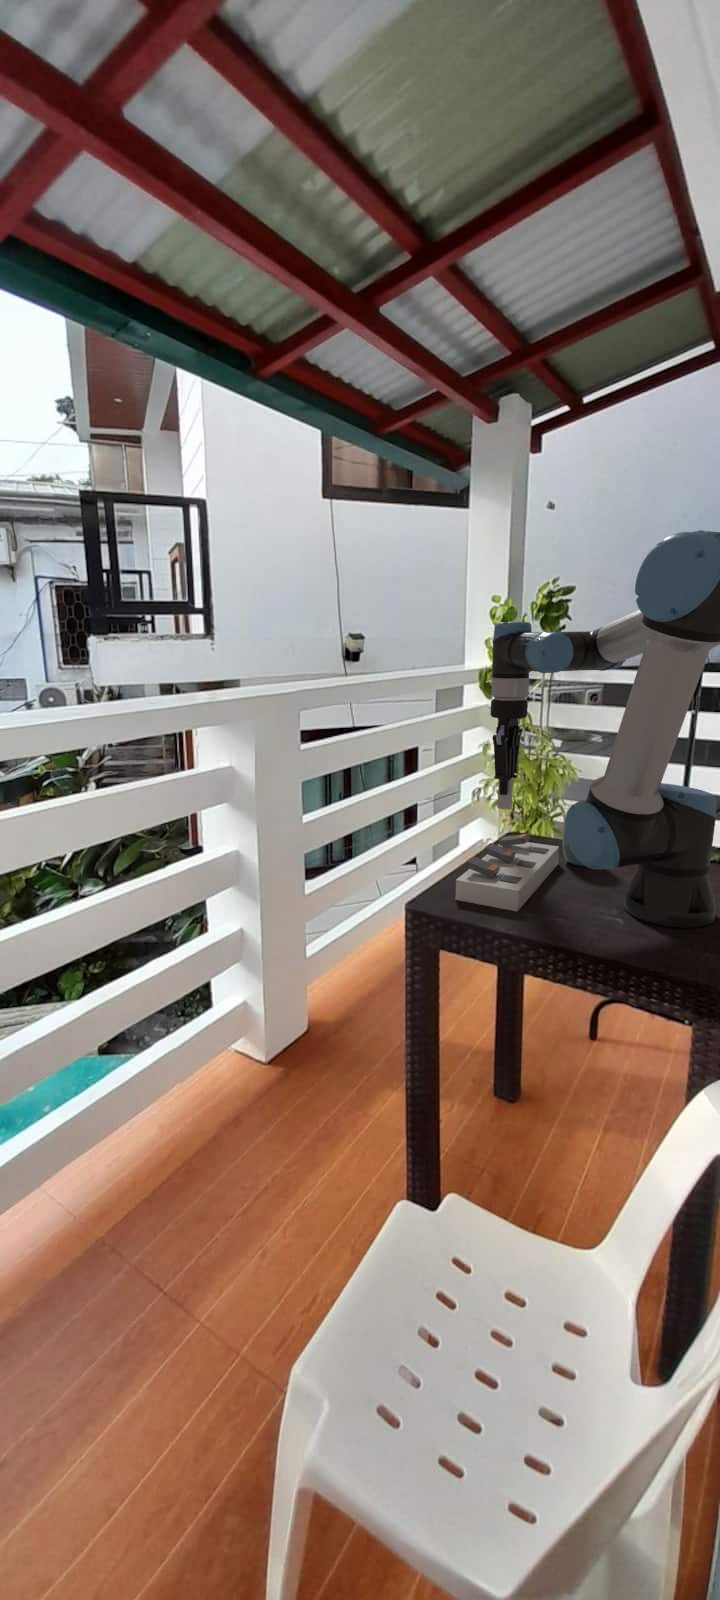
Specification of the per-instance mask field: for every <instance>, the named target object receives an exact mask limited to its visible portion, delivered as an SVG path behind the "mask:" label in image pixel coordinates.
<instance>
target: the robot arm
mask: <svg viewBox="0 0 720 1600" xmlns="http://www.w3.org/2000/svg"><path fill="white" fill-rule="evenodd" d="M637 572H638V573H637V576H636V580H635V585H634V594H635V595H636V596H637V598H636V600H635V602H636V605H637V607H638V610H635V611H632V613H629V614H627V615H625V616H622V617H620V618H618V619H616V620H614V621H612V622H610V623H607V624H605V625H603V626H600V627H598V628H596V629H593V630H589V631H588V630H587V631H547V630H546V631H532V629H533V628H532V624H531V623H530V622H529V621H501V622H497V623H496V624H495V625H494V627H493V629H494V630H493V640H492V642H491V643H492V660H491V661H492V662H491V663H492V664H491V669H492V670H491V675H492V676H491V681H490V682H489V686H491V696H492V697H493V698H492V699H491V700H490V717H491V718H495V719H498V722H497V723H498V724H497V726H496V729H495V733H496V734H493V735H492V743H493V744H492V745H493V752H494V753H493V757H494V778H493V779H494V780H495V779H496V780H498V783H497V785H498V786H497V787H498V789H497V809H499V810H506V811H507V810H509V811H510V810H511V809H512V808H513V789H514V787H513V786H514V779H518V774H517V772H518V763H519V755H520V746H521V738H522V734H523V728H521V727H520V726H519V725H520V724H519V719H526V717H527V716H528V706H529V705H528V704H529V701H528V700H527V699H526V698H528V697H529V688H530V687H529V686H530V672H536V673H540V674H556V673H560V672H574V671H575V672H576V671H601V672H603V671H610V670H616V669H619V668H620V667H622V666H623V665H624V663H625V662H626V661H627V660H628V659H631V658H634V657H636V656H639V655H641V654H642V656H641V659H640V661H639V665H638V668H637V671H636V674H635V677H634V680H633V683H632V686H631V690H630V693H629V696H628V700H627V703H626V705H625V708H624V712H623V715H622V717H621V721H620V725H619V728H618V731H617V735H616V737H615V739H614V740H615V741H614V743H613V747H612V750H611V752H610V756H609V759H608V762H607V765H606V768H605V772H604V774H603V775H602V776H600V777H598V778H596V779H594V780H593V781H592V782H591V784H590V787H589V791H588V793H587V797H586V800H578V801H577V802H575V803H574V804H571V805H570V806H569V808H568V809H567V811H566V814H565V817H566V818H565V817H564V819H565V832H566V837H567V840H568V843H569V846H570V848H571V850H572V852H573V854H574V855H575V857H576V858H577V859H578V860H579V861H580V862H581V863H582V864H583V865H585V866H584V867H586V868H589V869H591V870H613V869H616V868H623V867H627V866H633V865H637V868H636V870H635V872H634V873H633V876H632V879H630V882H629V884H628V887H627V888H626V891H625V893H624V900H623V907H624V909H625V911H626V912H627V913H629V914H630V915H631V916H632V917H635V918H637V919H639V920H642V921H644V922H647V923H650V924H654V925H658V926H663V927H671V928H685V929H688V928H692V929H693V928H701V927H704V926H708V925H711V924H713V922H714V921H715V917H716V916H715V915H716V911H717V906H716V901H715V897H714V894H713V889H712V885H711V881H710V877H709V875H710V874H709V873H710V864H711V858H712V851H713V843H714V842H713V841H714V835H715V827H716V820H717V818H718V817H717V815H716V814H717V800H716V797H715V796H714V795H713V794H712V793H710V792H708V791H705V790H703V789H698V788H694V787H689V786H684V785H677V784H673V783H671V784H670V783H664V782H663V779H664V776H665V773H666V770H667V768H668V765H669V763H670V759H671V756H672V754H673V751H674V748H675V746H676V743H677V740H678V737H679V735H680V732H681V729H682V726H683V723H684V722H685V718H686V715H687V713H688V710H689V707H690V705H691V702H692V699H693V697H694V695H695V692H696V688H697V686H698V684H699V680H700V678H701V675H702V673H703V670H704V667H705V664H706V662H707V659H708V656H709V654H710V651H711V650H712V649H714V648H716V647H718V646H720V531H711V530H703V529H701V530H695V531H682V532H681V531H680V532H677V533H674V534H671V535H669V536H666V537H664V538H663V540H661V542H658V543H657V544H656V545H654V546H653V548H652V549H651V550H650V551H649V552H648V553H647V555H646V557H644V560H643V561H642V562H641V566H640V567H639V569H638V571H637Z"/></svg>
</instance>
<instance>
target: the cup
mask: <svg viewBox="0 0 720 1600" xmlns="http://www.w3.org/2000/svg"><path fill="white" fill-rule="evenodd" d="M565 818H566V816H565V817H564V819H563V826H562V827H563V828H562V830H563V831H562V852H563V856H564V859H565V861H567V863H569V864H571V865H575V866H579V867H586V866H585V865H583V864H582V863H581V862H580V861H579V860H578V859H577V858H576V857H575V855H574V854H573V852H572V850H571V848H570V846H569V843H568V840H567V837H566V832H565Z"/></svg>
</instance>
